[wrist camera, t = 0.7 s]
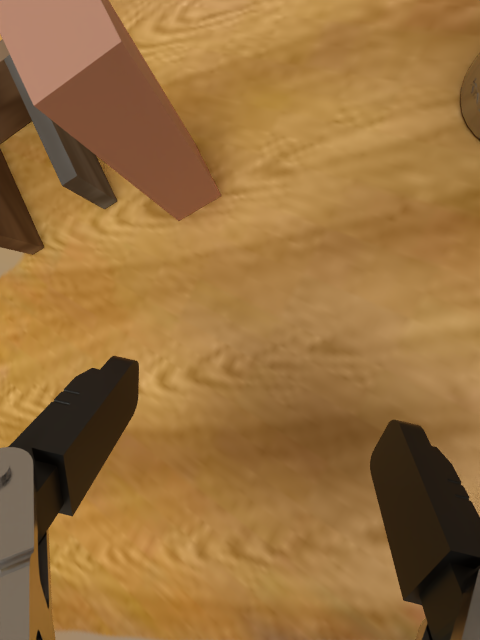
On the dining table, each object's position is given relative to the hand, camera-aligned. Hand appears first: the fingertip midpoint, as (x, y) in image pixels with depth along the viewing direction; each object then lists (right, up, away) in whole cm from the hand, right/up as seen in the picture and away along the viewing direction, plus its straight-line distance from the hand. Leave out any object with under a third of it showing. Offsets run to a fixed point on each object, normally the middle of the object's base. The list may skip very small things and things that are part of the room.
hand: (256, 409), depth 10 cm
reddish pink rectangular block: (-5, +15, +19) cm, 25 cm away
